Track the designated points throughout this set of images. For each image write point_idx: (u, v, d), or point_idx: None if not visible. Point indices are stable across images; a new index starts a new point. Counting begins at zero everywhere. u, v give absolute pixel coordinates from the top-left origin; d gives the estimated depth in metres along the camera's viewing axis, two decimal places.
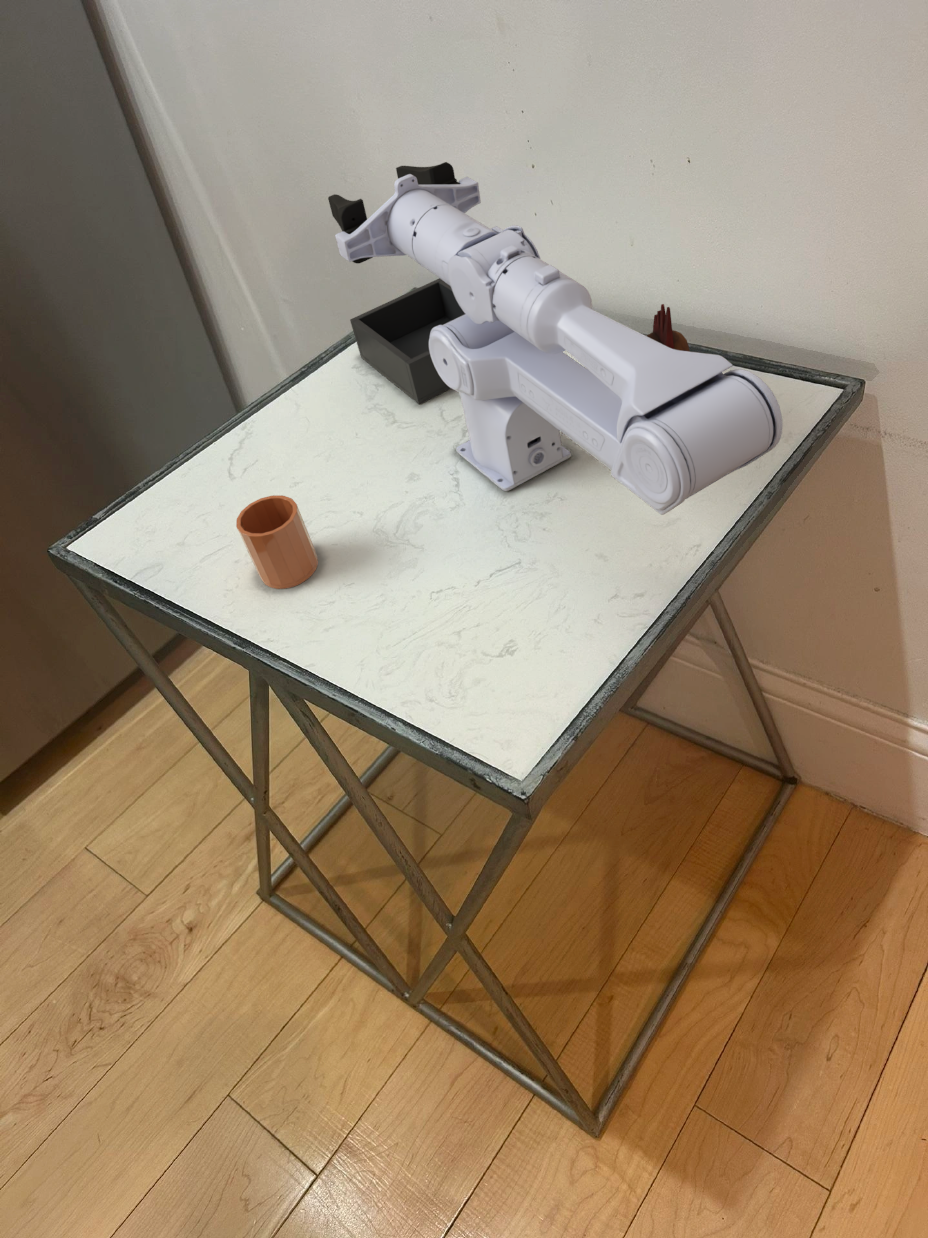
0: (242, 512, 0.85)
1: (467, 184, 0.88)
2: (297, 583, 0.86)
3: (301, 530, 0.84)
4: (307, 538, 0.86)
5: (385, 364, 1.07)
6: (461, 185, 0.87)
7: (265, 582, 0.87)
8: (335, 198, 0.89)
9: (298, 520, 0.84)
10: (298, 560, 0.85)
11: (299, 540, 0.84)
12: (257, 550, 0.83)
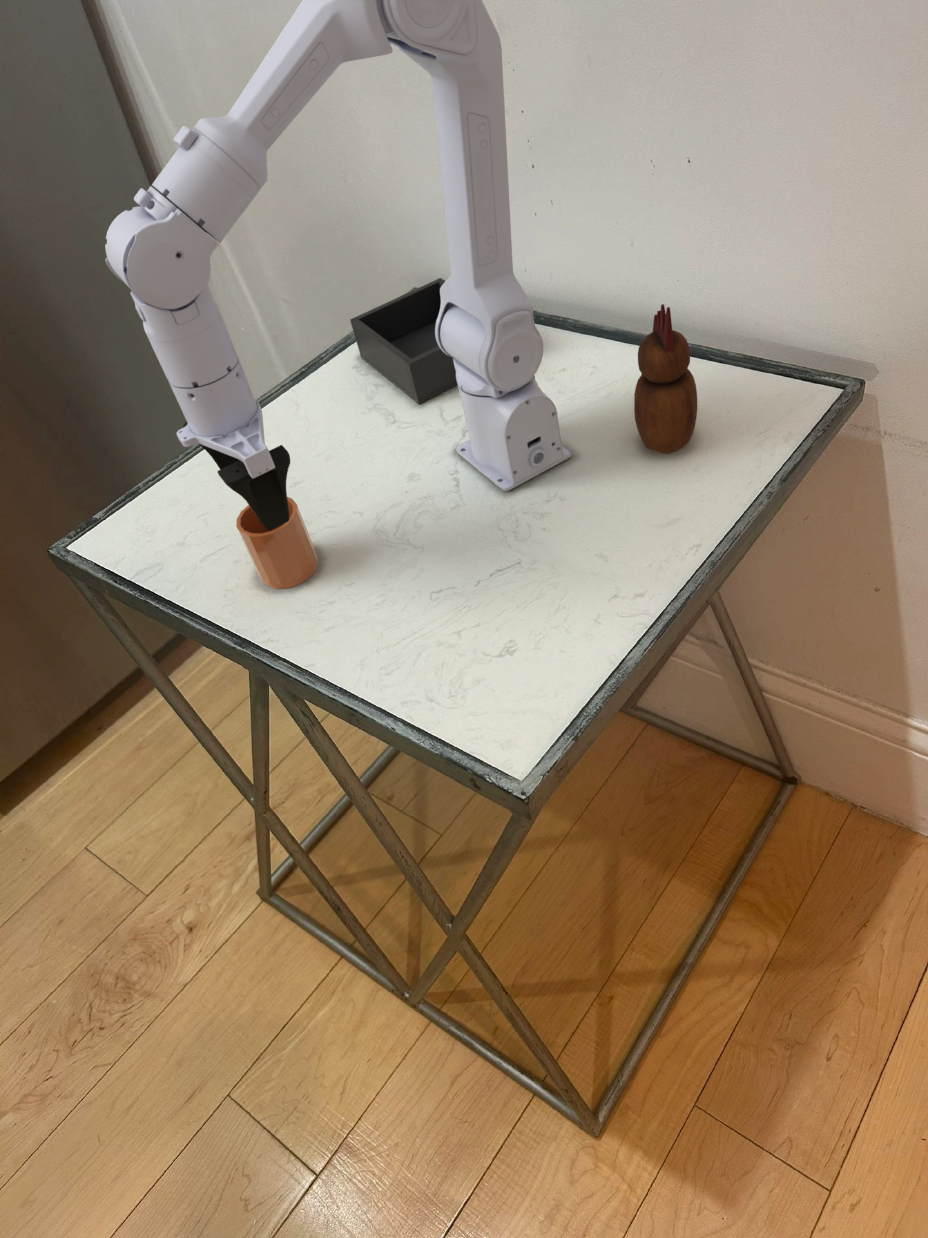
0: (242, 512, 0.85)
1: None
2: (297, 583, 0.86)
3: (301, 530, 0.84)
4: (307, 538, 0.86)
5: (385, 364, 1.07)
6: None
7: (265, 582, 0.87)
8: (257, 517, 0.79)
9: (298, 520, 0.84)
10: (298, 560, 0.85)
11: (299, 540, 0.84)
12: (257, 550, 0.83)
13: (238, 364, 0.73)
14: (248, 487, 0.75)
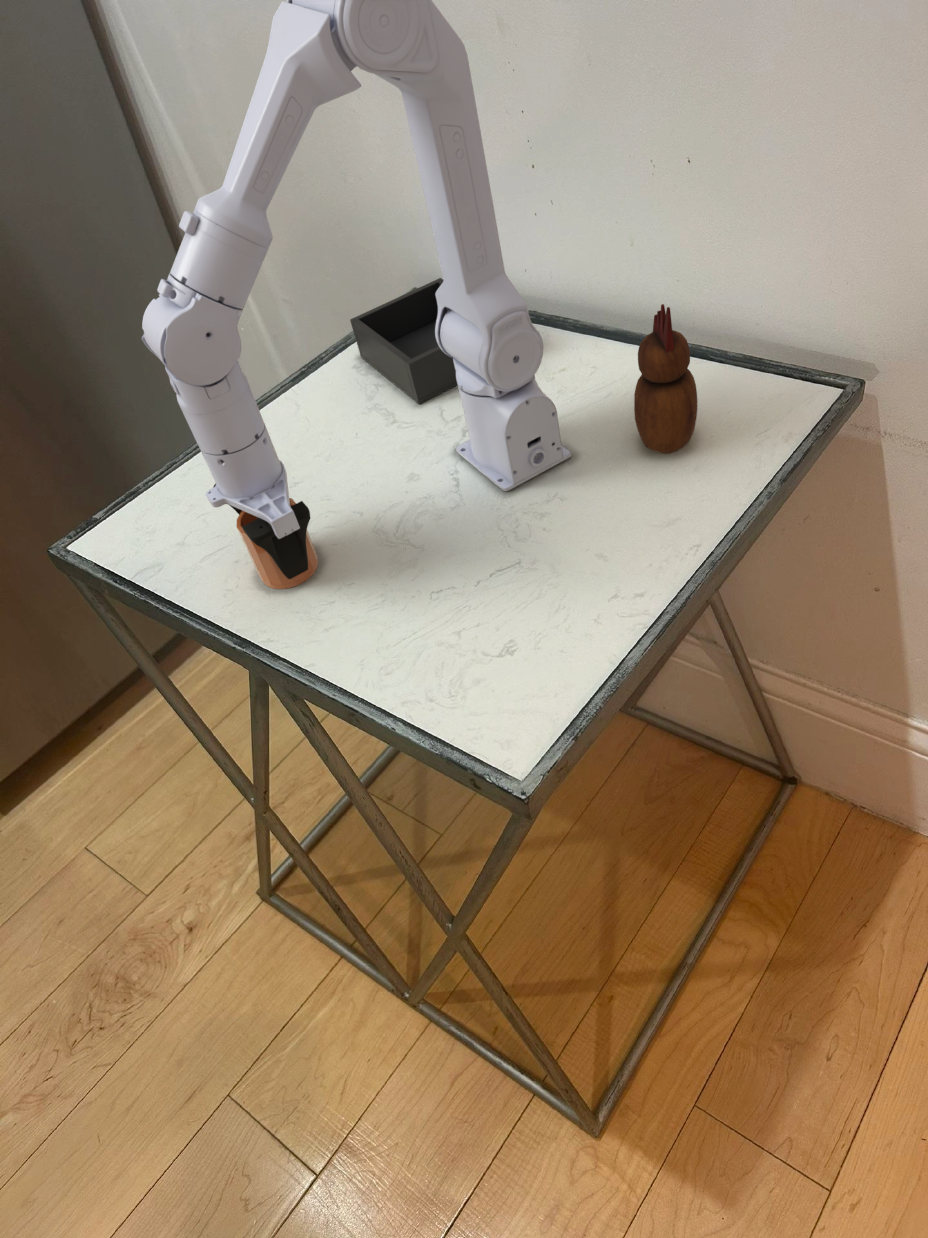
0: (242, 512, 0.85)
1: None
2: (297, 583, 0.86)
3: None
4: (307, 538, 0.86)
5: (385, 364, 1.07)
6: None
7: (265, 582, 0.87)
8: (278, 567, 0.84)
9: None
10: None
11: None
12: (257, 550, 0.83)
13: (265, 431, 0.78)
14: (271, 541, 0.80)
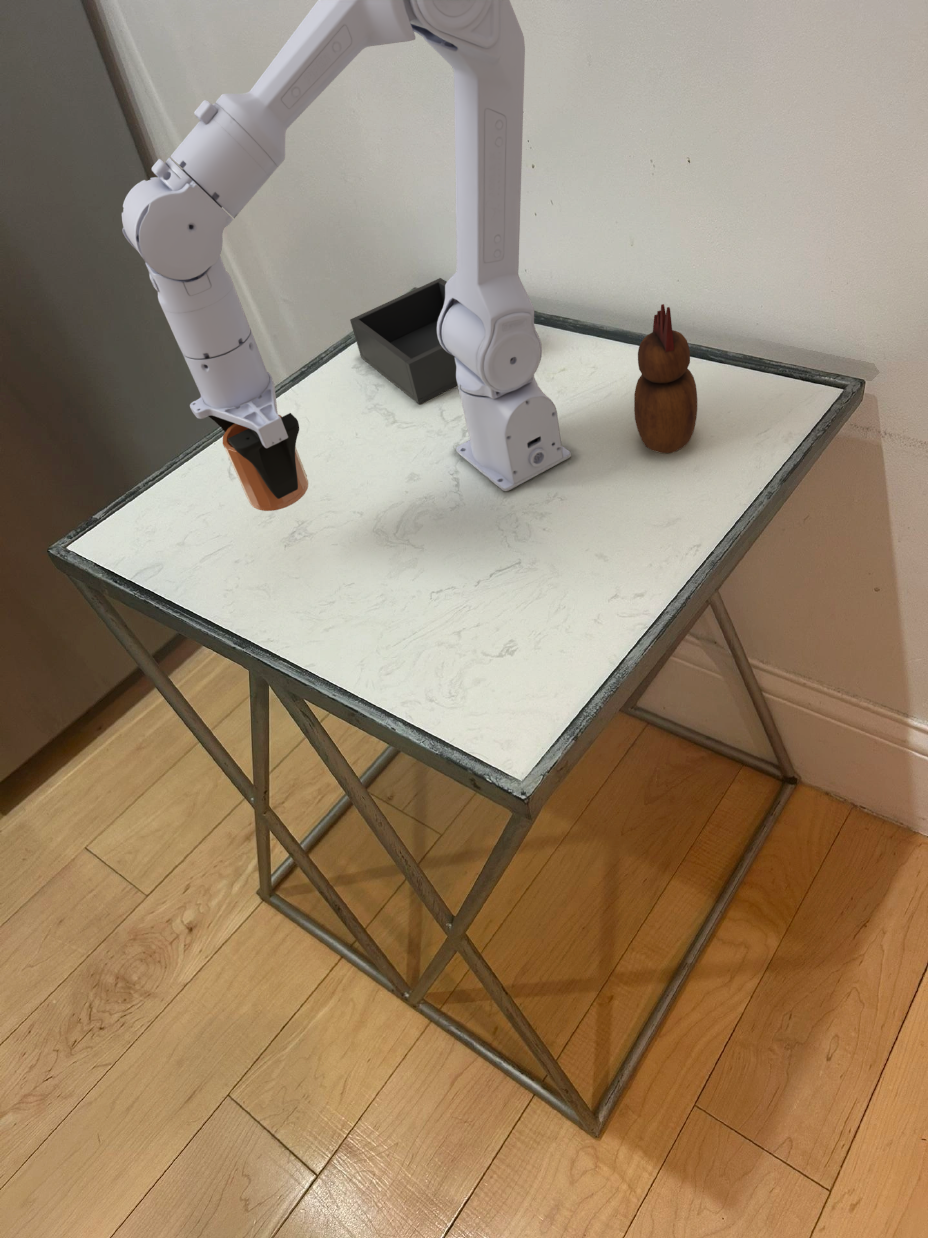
0: (229, 429, 0.81)
1: None
2: (287, 505, 0.83)
3: None
4: (297, 457, 0.82)
5: (385, 364, 1.07)
6: None
7: (253, 504, 0.83)
8: (267, 485, 0.80)
9: None
10: None
11: None
12: (244, 467, 0.80)
13: (251, 335, 0.74)
14: (258, 454, 0.76)
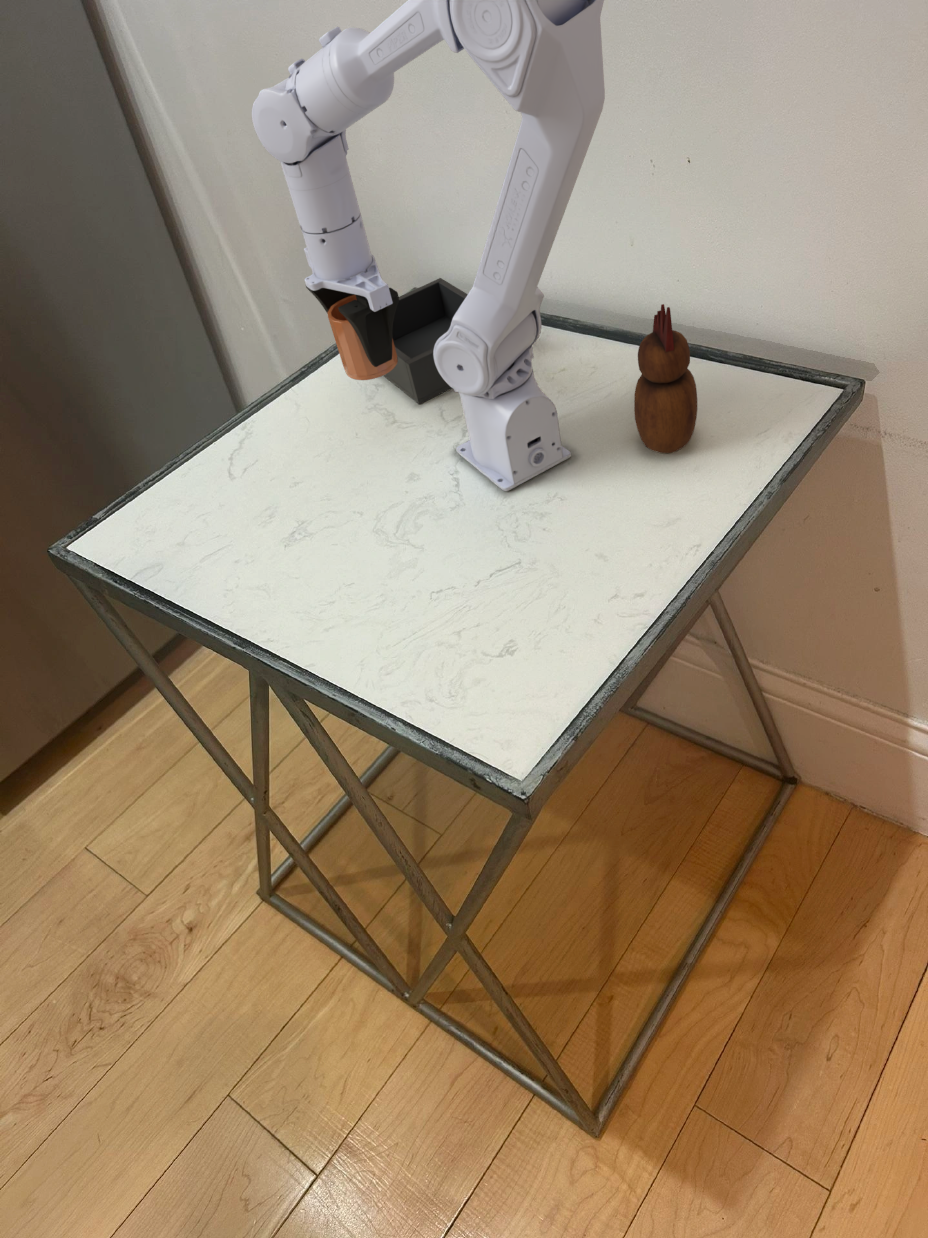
0: (332, 307, 0.94)
1: (307, 254, 0.94)
2: (381, 374, 0.95)
3: None
4: None
5: None
6: (308, 255, 0.93)
7: (351, 375, 0.96)
8: (367, 353, 0.92)
9: None
10: None
11: None
12: (347, 338, 0.92)
13: (360, 216, 0.87)
14: (364, 320, 0.89)
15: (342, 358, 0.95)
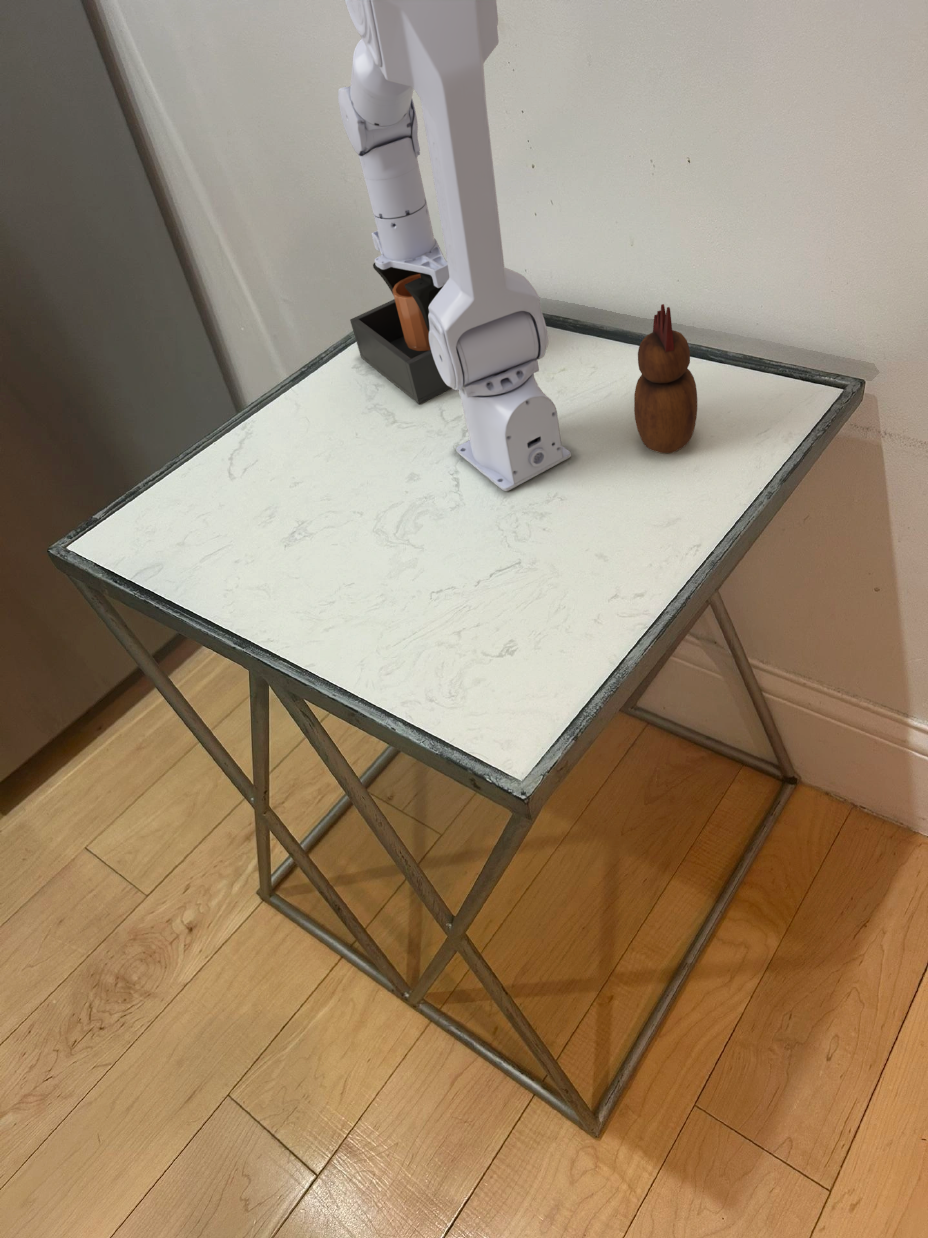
0: (396, 285, 1.05)
1: (375, 238, 1.05)
2: None
3: None
4: None
5: (385, 364, 1.07)
6: (376, 238, 1.05)
7: (412, 346, 1.07)
8: (428, 326, 1.04)
9: None
10: None
11: None
12: (410, 312, 1.04)
13: (426, 203, 0.98)
14: (428, 296, 1.00)
15: (404, 331, 1.07)
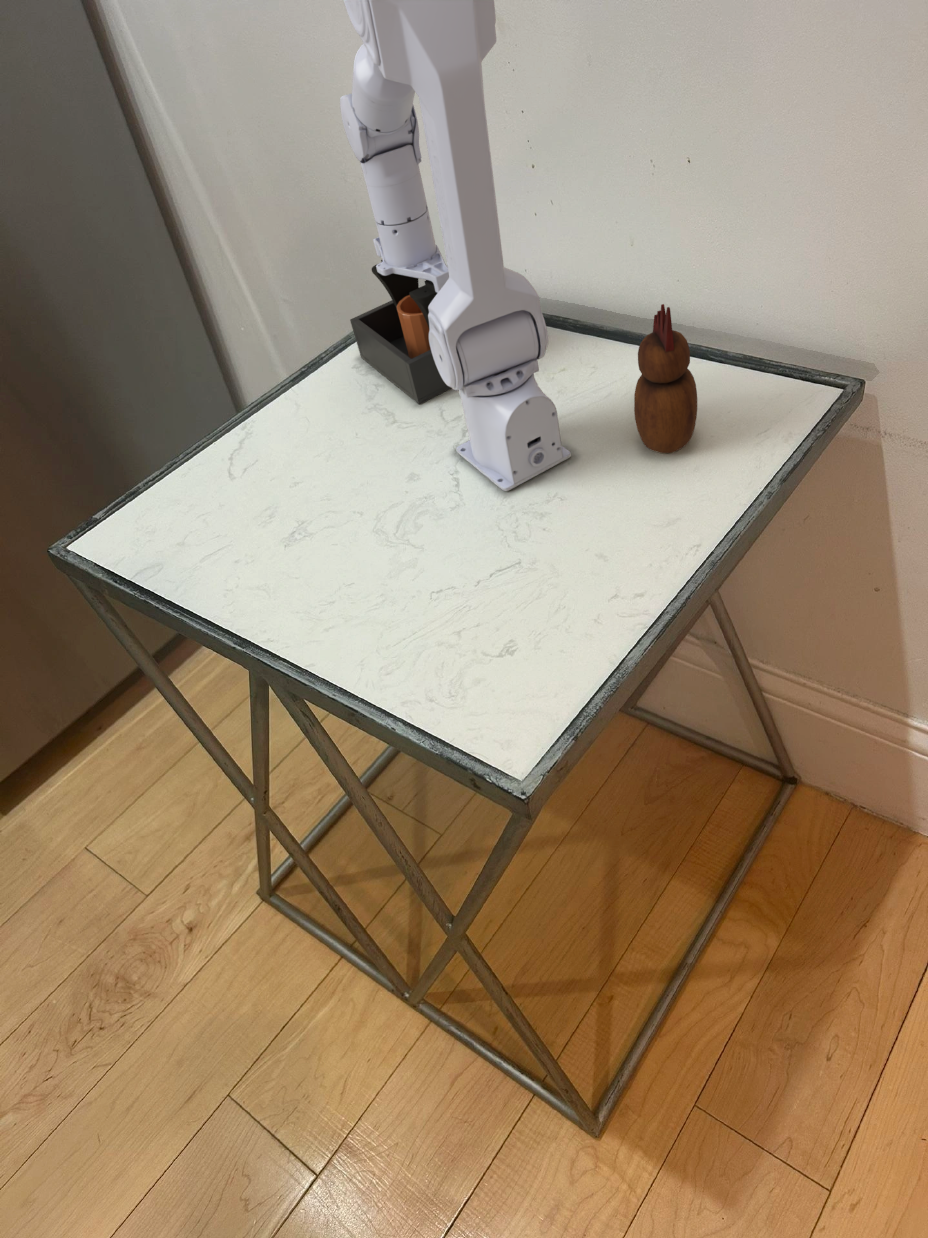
0: (400, 301, 1.06)
1: (376, 244, 1.06)
2: None
3: None
4: None
5: (385, 364, 1.07)
6: (377, 245, 1.05)
7: None
8: None
9: None
10: None
11: None
12: (414, 329, 1.05)
13: None
14: None
15: (408, 347, 1.08)
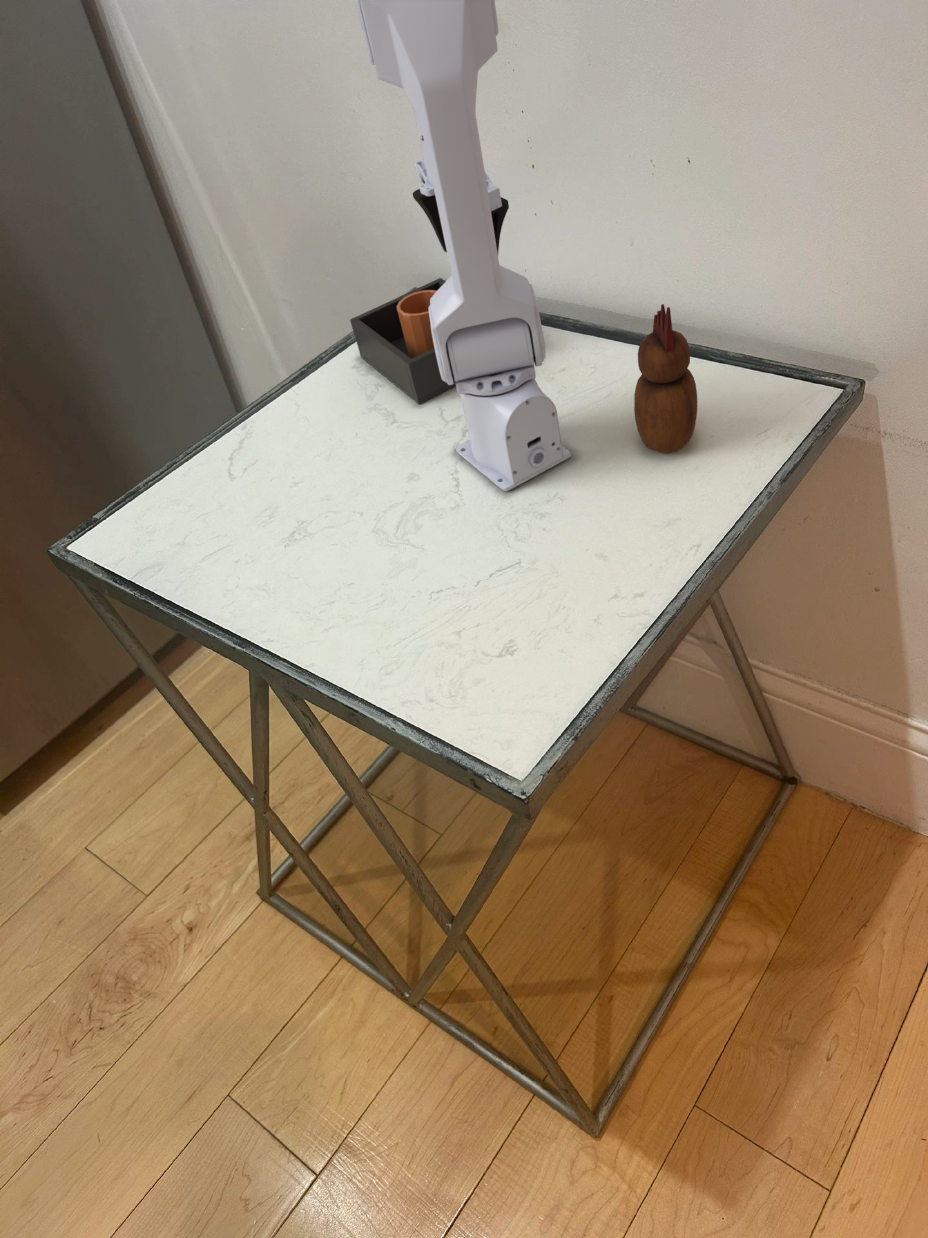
0: (400, 301, 1.06)
1: (418, 168, 1.03)
2: None
3: None
4: None
5: (385, 364, 1.07)
6: (419, 168, 1.03)
7: None
8: None
9: None
10: None
11: None
12: (414, 329, 1.05)
13: None
14: None
15: (408, 347, 1.08)
